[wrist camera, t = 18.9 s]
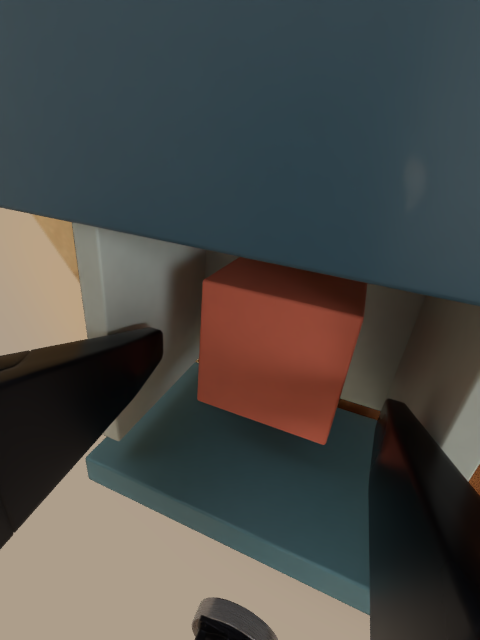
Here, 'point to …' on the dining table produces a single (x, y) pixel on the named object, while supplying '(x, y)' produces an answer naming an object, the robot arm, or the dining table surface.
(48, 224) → the dining table surface
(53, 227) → the dining table surface
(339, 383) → the terracotta rounded cube
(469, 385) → the open handled drawer
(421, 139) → the cabinet
